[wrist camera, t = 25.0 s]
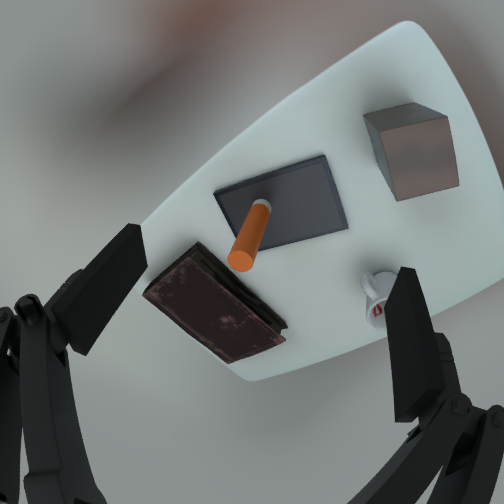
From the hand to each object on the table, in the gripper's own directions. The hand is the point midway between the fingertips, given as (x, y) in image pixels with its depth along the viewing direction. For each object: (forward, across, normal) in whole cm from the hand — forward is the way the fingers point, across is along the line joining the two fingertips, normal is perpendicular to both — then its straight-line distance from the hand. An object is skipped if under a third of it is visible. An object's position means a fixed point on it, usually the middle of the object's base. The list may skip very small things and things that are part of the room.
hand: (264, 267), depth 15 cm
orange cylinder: (+30, -5, -12) cm, 32 cm away
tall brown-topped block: (+31, +13, +2) cm, 34 cm away
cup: (+31, +17, -23) cm, 42 cm away
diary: (+31, -12, -35) cm, 49 cm away
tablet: (+31, -2, -12) cm, 33 cm away
